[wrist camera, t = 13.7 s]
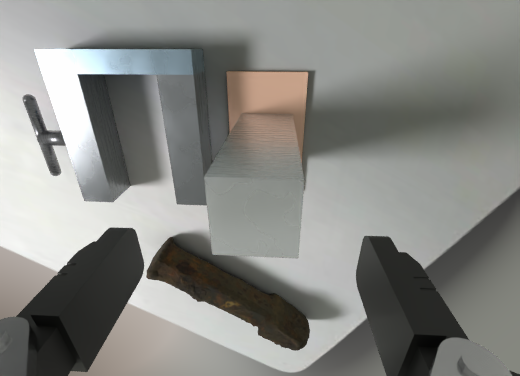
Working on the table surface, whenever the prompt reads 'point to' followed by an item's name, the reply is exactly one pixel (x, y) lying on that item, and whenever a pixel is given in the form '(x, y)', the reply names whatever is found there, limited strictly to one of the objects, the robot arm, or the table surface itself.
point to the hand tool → (230, 295)
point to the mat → (268, 96)
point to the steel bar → (256, 189)
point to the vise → (103, 124)
